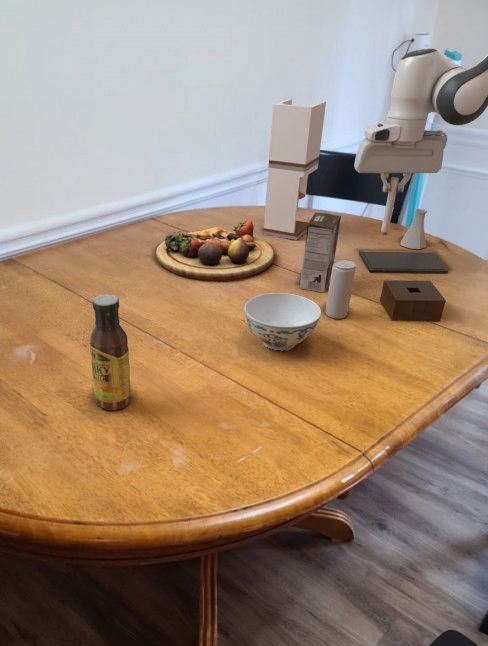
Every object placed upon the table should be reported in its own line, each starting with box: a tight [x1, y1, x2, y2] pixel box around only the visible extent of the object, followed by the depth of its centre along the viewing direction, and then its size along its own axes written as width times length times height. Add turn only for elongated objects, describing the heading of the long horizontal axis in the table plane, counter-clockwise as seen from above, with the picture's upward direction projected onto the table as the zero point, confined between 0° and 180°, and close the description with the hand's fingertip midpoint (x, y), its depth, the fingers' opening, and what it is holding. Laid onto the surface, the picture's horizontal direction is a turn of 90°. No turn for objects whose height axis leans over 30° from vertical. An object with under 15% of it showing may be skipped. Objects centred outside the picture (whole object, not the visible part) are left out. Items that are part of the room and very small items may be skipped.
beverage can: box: [325, 259, 357, 320], centre depth 123 cm, size 5×5×12 cm
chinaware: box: [244, 292, 322, 352], centre depth 114 cm, size 15×15×8 cm
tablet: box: [358, 251, 449, 275], centre depth 150 cm, size 20×13×1 cm, turn 88°
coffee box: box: [299, 212, 342, 293], centre depth 135 cm, size 9×6×16 cm
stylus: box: [381, 176, 400, 236], centre depth 142 cm, size 2×2×14 cm
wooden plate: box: [155, 219, 275, 281], centre depth 151 cm, size 32×32×8 cm
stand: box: [379, 279, 447, 323], centre depth 127 cm, size 11×11×5 cm
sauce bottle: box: [89, 293, 132, 411], centre depth 93 cm, size 6×6×20 cm
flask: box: [400, 208, 428, 250], centre depth 159 cm, size 7×7×10 cm
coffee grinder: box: [262, 98, 327, 241], centre depth 161 cm, size 11×11×35 cm
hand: (392, 191), depth 140 cm, fingers closed on stylus, 2 cm apart
